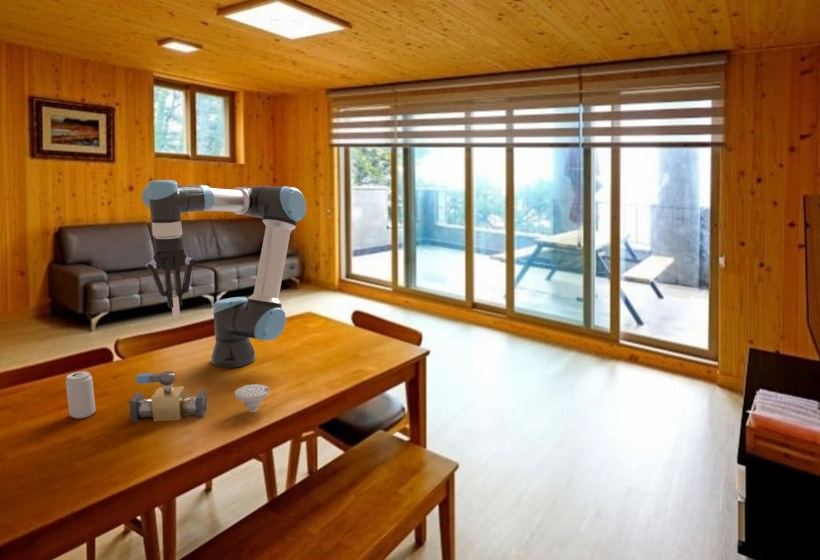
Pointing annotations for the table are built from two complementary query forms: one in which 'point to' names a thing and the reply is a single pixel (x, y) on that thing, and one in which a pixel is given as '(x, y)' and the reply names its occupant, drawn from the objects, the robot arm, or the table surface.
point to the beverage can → (80, 395)
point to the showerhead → (252, 395)
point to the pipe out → (140, 407)
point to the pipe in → (194, 404)
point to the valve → (167, 403)
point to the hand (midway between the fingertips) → (176, 317)
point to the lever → (156, 377)
